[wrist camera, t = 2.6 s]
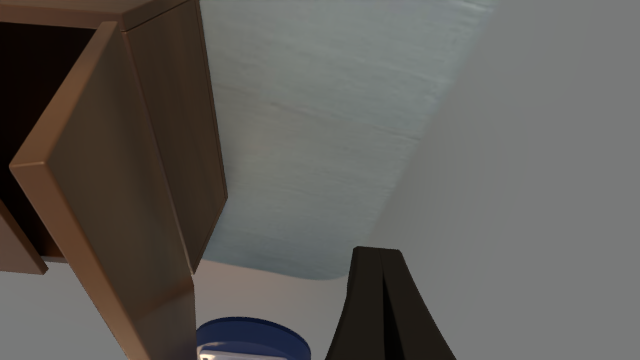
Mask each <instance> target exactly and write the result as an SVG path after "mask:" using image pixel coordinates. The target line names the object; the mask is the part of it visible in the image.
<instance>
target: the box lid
mask: <svg viewBox="0 0 640 360" xmlns="http://www.w3.org/2000/svg"><path fill="white" fill-rule="evenodd" d="M9 169H10V171H11V172H12V174H13V175H14V177H15V179H16V180H17V182H18V183H19V185H20V187H21V188H22V190H23V191H24V193H25V195H26V196H27V198H28V199H29V201H30V203H31V204H32V206H33V207H34V209H35V211H36V212H37V214H38V215H39V217H40V219H41V220H42V222H43V223H44V225H45V227H46V228H47V230H48V231H49V233H50V235H51V236H52V238H53V239H54V241H55V243H56V244H57V246H58V247H59V249H60V251H61V252H62V254H63V255H64V257H65V259H66V260H67V262H68V263H69V265H70V266H71V268H72V270H73V271H74V273H75V275H76V276H77V278H78V279H79V281H80V283H81V284H82V286H83V287H84V289H85V291H86V292H87V294H88V295H89V297H90V299H91V300H92V302H93V304H94V305H95V307H96V308H97V310H98V311H99V313H100V315H101V316H102V318H103V319H104V321H105V323H106V324H107V326H108V328H109V329H110V331H111V332H112V334H113V335H114V337H115V339H116V340H117V342H118V343H119V345H120V347H121V348H122V350H123V351H124V353H125V355H126V356H127V358H128V360H198V359H197V338H196V316H195V295H194V284H193V280H192V277H191V273H190V270H189V266H188V263H187V259H186V256H185V252H184V249H183V246H182V242H181V239H180V235H179V232H178V228H177V225H176V221H175V218H174V214H173V211H172V207H171V204H170V200H169V197H168V194H167V190H166V187H165V183H164V180H163V176H162V173H161V169H160V166H159V162H158V159H157V155H156V152H155V149H154V145H153V142H152V138H151V135H150V131H149V128H148V124H147V121H146V117H145V114H144V110H143V107H142V103H141V100H140V97H139V93H138V90H137V86H136V83H135V79H134V76H133V72H132V69H131V65H130V62H129V58H128V55H127V51H126V48H125V45H124V41H123V38H122V34H121V31H120V27H119V24H118V22H116V21H106V22H102V23H101V24H100V26H99V27H98V29H97V30H96V32H95V33H94V35H93V36H92V38H91V40H90V41H89V43H88V44H87V46H86V47H85V49H84V50H83V52H82V53H81V55H80V56H79V58H78V60H77V61H76V63H75V64H74V66H73V67H72V69H71V70H70V72H69V73H68V75H67V76H66V78H65V80H64V81H63V83H62V84H61V86H60V87H59V89H58V90H57V92H56V93H55V95H54V96H53V98H52V100H51V101H50V103H49V104H48V106H47V107H46V109H45V110H44V112H43V113H42V115H41V116H40V118H39V119H38V121H37V123H36V124H35V126H34V127H33V129H32V130H31V132H30V133H29V135H28V136H27V138H26V139H25V141H24V143H23V144H22V146H21V147H20V149H19V150H18V152H17V153H16V155H15V156H14V158H13V159H12V161H11V163H10V164H9Z"/></svg>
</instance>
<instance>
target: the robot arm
mask: <svg viewBox="0 0 640 360" xmlns="http://www.w3.org/2000/svg"><path fill="white" fill-rule="evenodd" d="M199 356H200V359H201V360H287V359H286V358H284V357H275V356H264V355H254V354H243V353H233V352H223V351H212V350H202V351H201V352H200V354H199ZM325 360H456V358H455V356H454V355H453V353H452V351H451V350H450V348H449V346H448V345H447V343H446V341H445V340H444V338H443V336H442V334H441V333H440V331H439V329H438V327H437V326H436V324H435V322H434V320H433V319H432V316H431V314H430V313H429V311H428V309H427V307H426V305H425V303H424V301H423V299H422V297H421V295H420V293H419V291H418V289H417V287H416V285H415V283H414V281H413V278H412V276H411V274H410V272H409V270H408V267H407V265H406V263H405V260H404V258H403V255H402V253H401V252H400V251H399V250H396V249H385V248H373V247H362V246H357V247H355V248H353V254H352V260H351V266H350V271H349V277H348V283H347V296H346V300H345V303H344V307H343V311H342V314H341V317H340V320H339V323H338V326H337V329H336V332H335V334H334V337H333V340H332V343H331V346H330V348H329V351H328V353H327V356H326V358H325Z"/></svg>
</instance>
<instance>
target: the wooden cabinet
mask: <svg viewBox="0 0 640 360" xmlns="http://www.w3.org/2000/svg"><path fill="white" fill-rule="evenodd" d="M106 21H116V22H118V24H119V27H120V31H121V34H122V38H123V41H124V45H125V48H126V51H127V55H128V58H129V62H130V65H131V69H132V72H133V76H134V79H135V83H136V86H137V90H138V93H139V97H140V100H141V103H142V107H143V110H144V114H145V117H146V121H147V124H148V128H149V131H150V135H151V138H152V142H153V145H154V149H155V152H156V155H157V159H158V162H159V166H160V169H161V173H162V176H163V180H164V183H165V187H166V190H167V194H168V197H169V200H170V204H171V207H172V211H173V214H174V218H175V221H176V225H177V228H178V232H179V235H180V239H181V242H182V246H183V249H184V252H185V256H186V259H187V263H188V266H189V270H190V273H191V275H194V274H195V272H196V269H197V267H198V265H199V263H200V260H201V258H202V256H203V253H204V251H205V249H206V247H207V244H208V242H209V240H210V237H211V235H212V233H213V230H214V228H215V226H216V224H217V221H218V219H219V217H220V214H221V212H222V210H223V207H224V205H225V203H226V201H227V198H228V194H227V188H226V181H225V174H224V167H223V161H222V154H221V147H220V140H219V134H218V127H217V120H216V113H215V107H214V100H213V93H212V86H211V79H210V73H209V66H208V59H207V52H206V46H205V39H204V32H203V25H202V19H201V12H200V5H199V0H0V271H6V272H17V273H28V274H39V275H44V274H45V273H46V271H47V270H48V269H49V268H48V267H47V265H46V264H45V262H44V261H47V262H58V263H68V262H67V260H66V259H65V257H64V255H63V254H62V252H61V251H60V249H59V247H58V246H57V244H56V243H55V241H54V239H53V238H52V236H51V235H50V233H49V231H48V230H47V228H46V227H45V225H44V223H43V222H42V220H41V219H40V217H39V215H38V214H37V212H36V211H35V209H34V207H33V206H32V204H31V203H30V201H29V199H28V198H27V196H26V195H25V193H24V191H23V190H22V188H21V187H20V185H19V183H18V182H17V180H16V179H15V177H14V175H13V174H12V172H11V171H10V169H9V164H10V163H11V161H12V159H13V158H14V156H15V155H16V153H17V152H18V150H19V149H20V147H21V146H22V144H23V143H24V141H25V139H26V138H27V136H28V135H29V133H30V132H31V130H32V129H33V127H34V126H35V124H36V123H37V121H38V119H39V118H40V116H41V115H42V113H43V112H44V110H45V109H46V107H47V106H48V104H49V103H50V101H51V100H52V98H53V96H54V95H55V93H56V92H57V90H58V89H59V87H60V86H61V84H62V83H63V81H64V80H65V78H66V76H67V75H68V73H69V72H70V70H71V69H72V67H73V66H74V64H75V63H76V61H77V60H78V58H79V56H80V55H81V53H82V52H83V50H84V49H85V47H86V46H87V44H88V43H89V41H90V40H91V38H92V36H93V35H94V33H95V32H96V30H97V29H98V27H99V26H100V24H101V23H102V22H106Z"/></svg>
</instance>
